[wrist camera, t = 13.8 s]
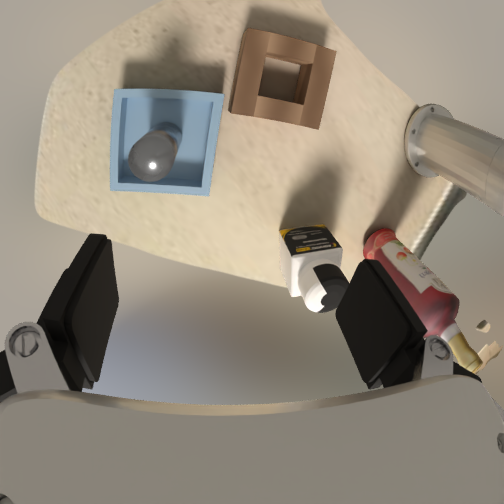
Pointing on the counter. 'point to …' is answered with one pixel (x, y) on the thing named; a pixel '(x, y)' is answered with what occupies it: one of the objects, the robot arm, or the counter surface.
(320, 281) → the medicine bottle
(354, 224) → the counter surface
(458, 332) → the liquor
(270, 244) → the counter surface
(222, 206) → the counter surface
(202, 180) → the tray
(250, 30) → the hole block
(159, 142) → the peg
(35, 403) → the robot arm
